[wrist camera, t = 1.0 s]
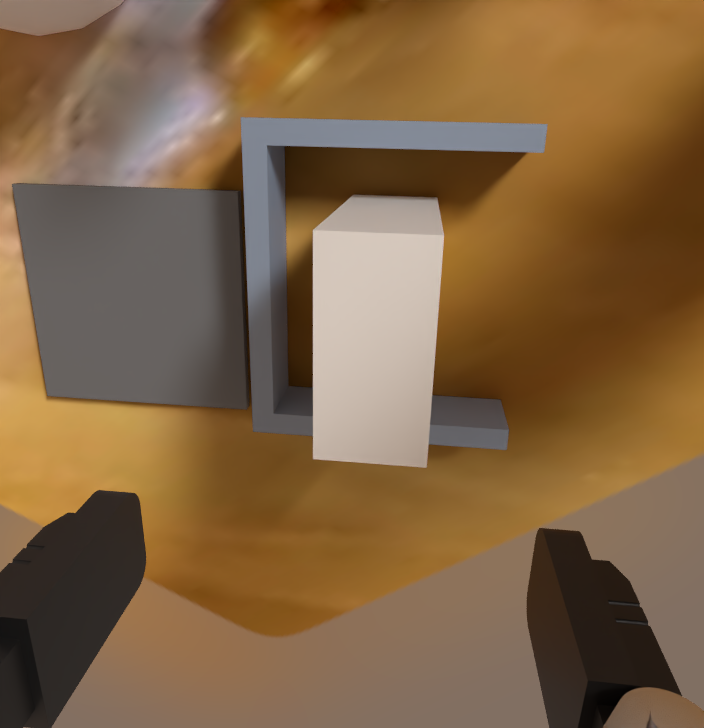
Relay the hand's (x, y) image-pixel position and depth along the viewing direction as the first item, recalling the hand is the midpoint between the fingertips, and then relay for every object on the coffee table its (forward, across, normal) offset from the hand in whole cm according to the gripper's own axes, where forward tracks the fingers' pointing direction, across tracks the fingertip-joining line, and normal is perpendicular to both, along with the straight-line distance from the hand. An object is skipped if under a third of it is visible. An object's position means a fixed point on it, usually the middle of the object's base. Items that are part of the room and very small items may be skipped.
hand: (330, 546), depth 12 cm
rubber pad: (+24, +15, +2) cm, 28 cm away
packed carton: (+24, 0, 0) cm, 24 cm away
